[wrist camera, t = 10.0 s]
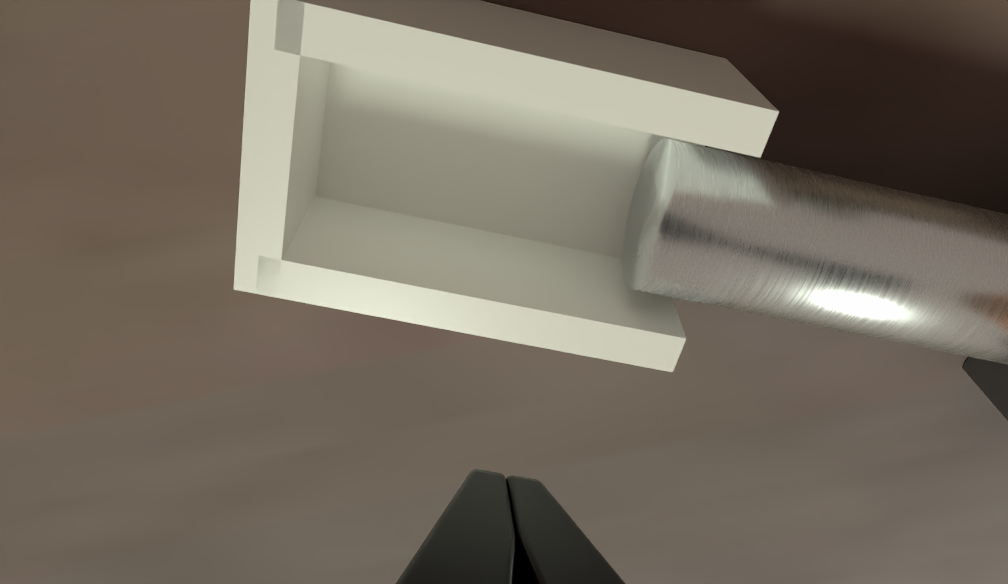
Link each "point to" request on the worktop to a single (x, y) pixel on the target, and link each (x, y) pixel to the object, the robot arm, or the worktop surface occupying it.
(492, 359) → the worktop surface
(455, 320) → the open tray
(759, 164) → the tube
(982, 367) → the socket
